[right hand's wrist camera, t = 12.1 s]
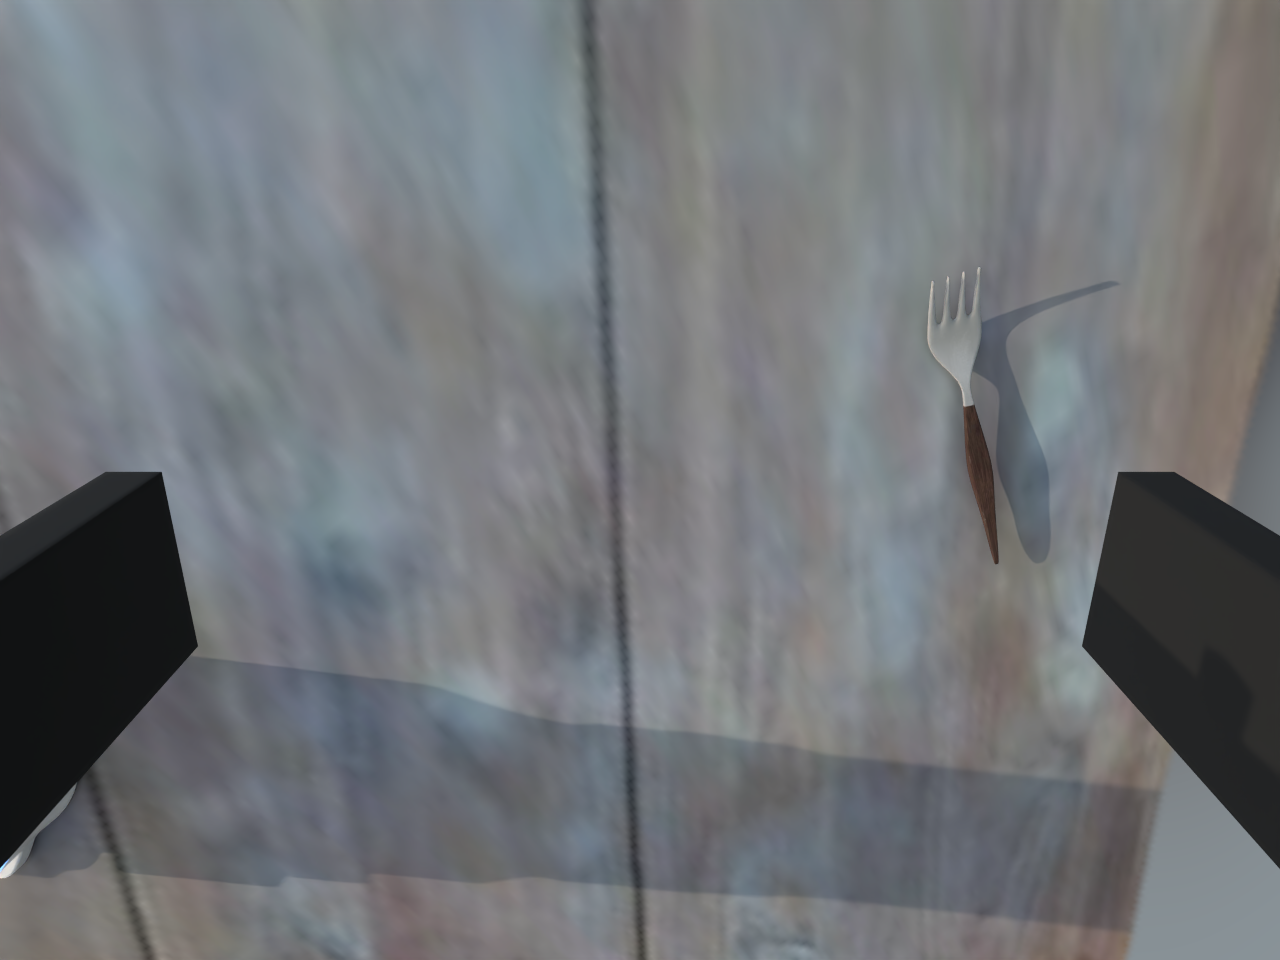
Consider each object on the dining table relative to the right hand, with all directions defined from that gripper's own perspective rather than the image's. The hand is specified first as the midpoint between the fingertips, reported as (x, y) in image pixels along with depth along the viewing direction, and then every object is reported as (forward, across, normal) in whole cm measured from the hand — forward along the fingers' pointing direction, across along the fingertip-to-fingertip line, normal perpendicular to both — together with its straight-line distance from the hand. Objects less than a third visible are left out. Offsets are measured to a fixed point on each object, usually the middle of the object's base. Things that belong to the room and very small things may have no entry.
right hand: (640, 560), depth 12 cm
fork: (+31, +17, -8) cm, 36 cm away
